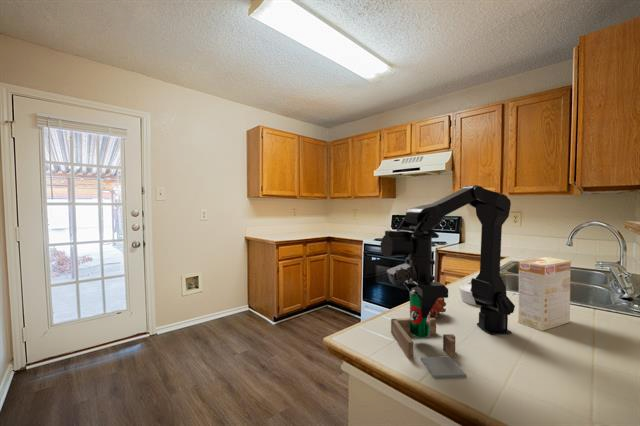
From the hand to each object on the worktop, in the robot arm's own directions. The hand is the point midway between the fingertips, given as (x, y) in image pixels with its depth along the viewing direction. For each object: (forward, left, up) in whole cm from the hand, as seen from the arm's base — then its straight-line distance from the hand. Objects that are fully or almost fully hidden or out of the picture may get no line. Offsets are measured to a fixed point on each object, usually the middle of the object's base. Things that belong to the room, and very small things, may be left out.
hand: (419, 313), depth 72 cm
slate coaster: (0, +11, -8) cm, 14 cm away
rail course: (-1, 0, -8) cm, 8 cm away
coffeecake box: (-44, -11, -8) cm, 46 cm away
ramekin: (-34, -30, -8) cm, 46 cm away
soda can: (0, 0, -6) cm, 6 cm away
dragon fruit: (-11, -18, -8) cm, 22 cm away
